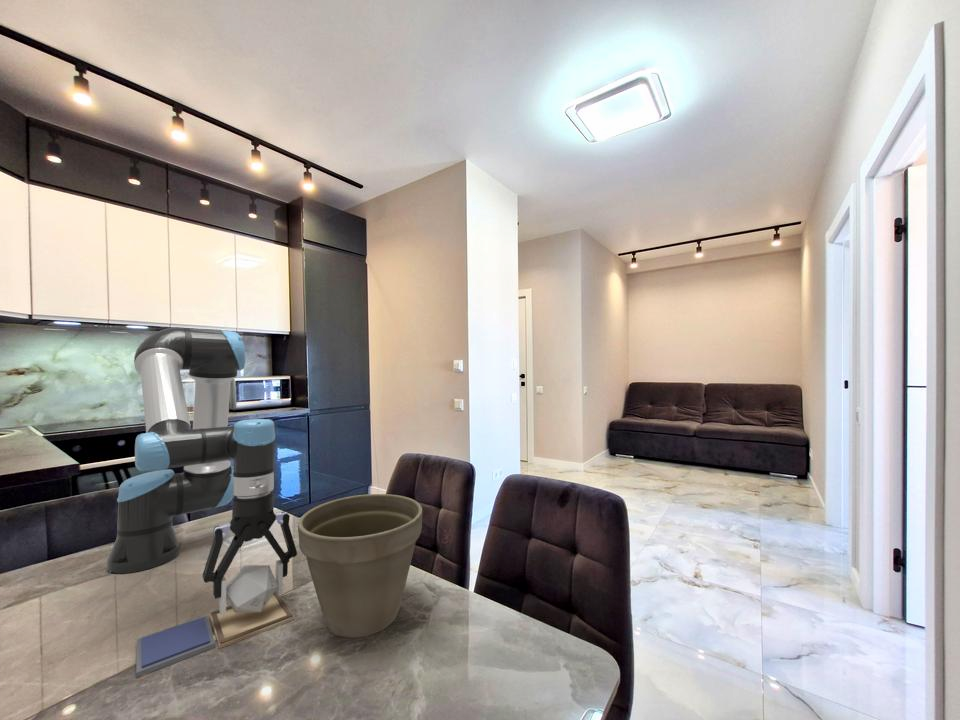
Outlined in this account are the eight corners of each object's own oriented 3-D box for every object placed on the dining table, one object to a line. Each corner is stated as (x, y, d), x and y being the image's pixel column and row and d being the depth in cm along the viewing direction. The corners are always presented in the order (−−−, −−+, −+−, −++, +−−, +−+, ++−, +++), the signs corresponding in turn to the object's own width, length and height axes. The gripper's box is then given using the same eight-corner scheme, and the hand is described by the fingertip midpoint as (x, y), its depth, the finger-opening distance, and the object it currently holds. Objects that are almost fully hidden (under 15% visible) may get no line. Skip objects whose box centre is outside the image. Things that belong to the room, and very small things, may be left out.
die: (238, 631, 75) (275, 580, 78) (205, 603, 77) (242, 554, 80) (261, 621, 83) (293, 575, 86) (230, 595, 84) (263, 551, 88)
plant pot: (368, 678, 65) (369, 545, 66) (267, 637, 75) (269, 523, 76) (444, 599, 87) (443, 501, 88) (358, 576, 98) (359, 488, 99)
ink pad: (136, 644, 73) (136, 637, 73) (207, 619, 81) (207, 613, 81) (136, 677, 65) (136, 670, 65) (215, 647, 72) (215, 640, 72)
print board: (209, 616, 82) (209, 612, 82) (277, 593, 90) (277, 589, 90) (219, 648, 72) (219, 643, 72) (294, 619, 80) (294, 615, 80)
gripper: (189, 510, 72) (186, 634, 71) (314, 487, 87) (313, 590, 86) (186, 500, 78) (183, 615, 77) (303, 480, 92) (302, 576, 91)
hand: (251, 602), depth 81 cm, fingers closed on die, 10 cm apart
